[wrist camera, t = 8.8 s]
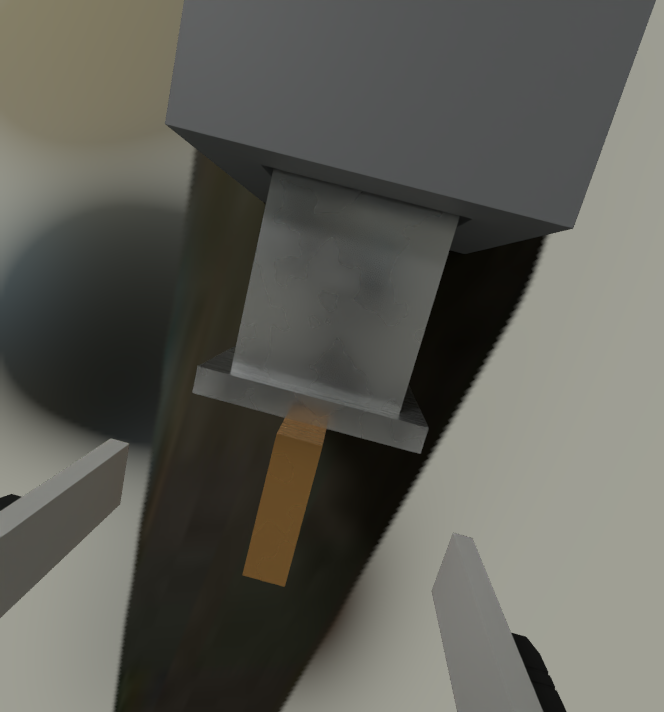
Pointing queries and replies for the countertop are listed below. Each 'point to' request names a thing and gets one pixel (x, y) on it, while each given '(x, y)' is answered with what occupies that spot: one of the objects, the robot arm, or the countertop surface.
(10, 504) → the robot arm
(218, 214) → the countertop surface
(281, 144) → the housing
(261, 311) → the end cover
